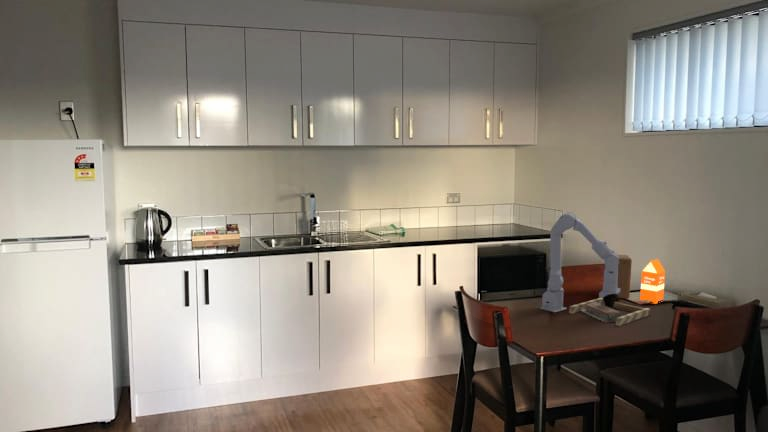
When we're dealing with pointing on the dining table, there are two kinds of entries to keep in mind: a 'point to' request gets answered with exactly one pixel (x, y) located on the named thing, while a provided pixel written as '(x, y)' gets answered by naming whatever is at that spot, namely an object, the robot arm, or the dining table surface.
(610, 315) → the packaged product
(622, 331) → the dining table surface
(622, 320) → the beige wooden frame
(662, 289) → the orange juice
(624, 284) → the wooden block
